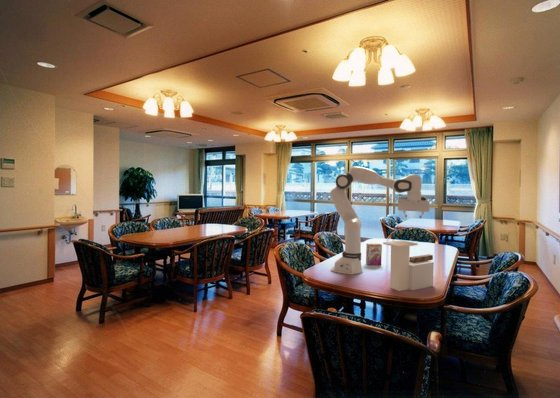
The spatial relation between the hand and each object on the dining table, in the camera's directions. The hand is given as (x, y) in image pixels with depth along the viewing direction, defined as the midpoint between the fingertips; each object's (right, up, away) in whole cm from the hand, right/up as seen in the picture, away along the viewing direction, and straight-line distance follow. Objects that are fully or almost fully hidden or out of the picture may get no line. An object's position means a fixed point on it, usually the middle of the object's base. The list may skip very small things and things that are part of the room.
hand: (413, 217), depth 220 cm
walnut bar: (-2, -26, -18) cm, 32 cm away
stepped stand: (-13, -41, -23) cm, 49 cm away
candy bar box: (-17, -39, +34) cm, 55 cm away
